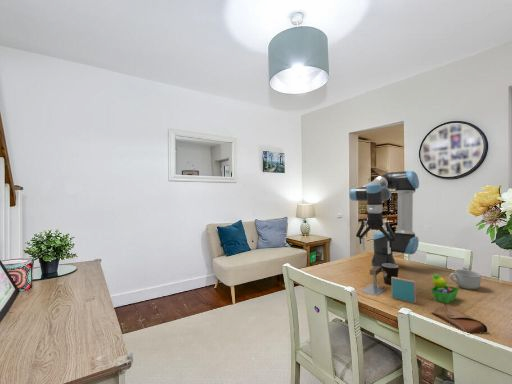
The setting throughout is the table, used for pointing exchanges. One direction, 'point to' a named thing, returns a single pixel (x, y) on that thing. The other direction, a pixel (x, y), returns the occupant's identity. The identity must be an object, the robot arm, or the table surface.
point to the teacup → (466, 279)
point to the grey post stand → (374, 282)
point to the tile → (403, 289)
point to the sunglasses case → (459, 320)
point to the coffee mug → (389, 272)
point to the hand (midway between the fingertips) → (375, 251)
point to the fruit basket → (443, 290)
